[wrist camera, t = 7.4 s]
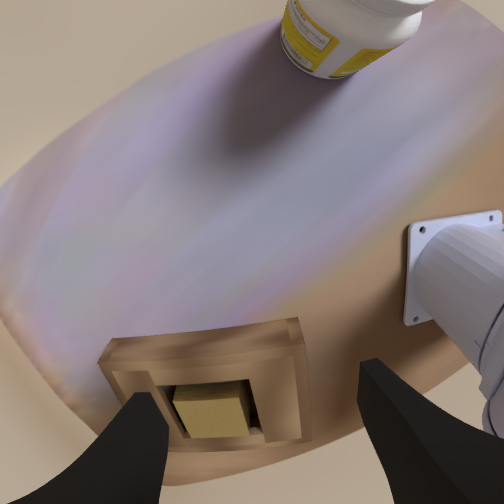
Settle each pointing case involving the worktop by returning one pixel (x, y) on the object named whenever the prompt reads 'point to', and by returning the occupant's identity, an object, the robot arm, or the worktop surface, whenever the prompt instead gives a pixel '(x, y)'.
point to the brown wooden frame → (221, 378)
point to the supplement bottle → (346, 32)
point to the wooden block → (214, 409)
